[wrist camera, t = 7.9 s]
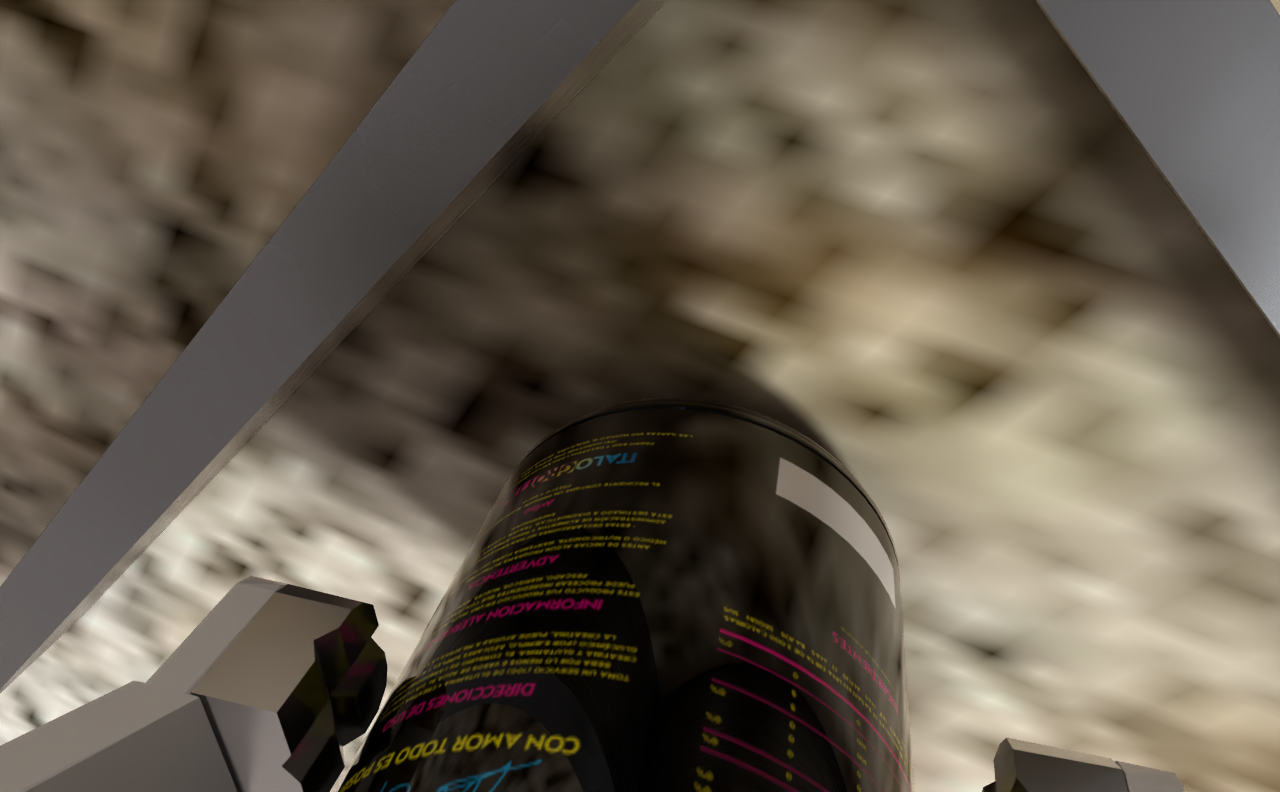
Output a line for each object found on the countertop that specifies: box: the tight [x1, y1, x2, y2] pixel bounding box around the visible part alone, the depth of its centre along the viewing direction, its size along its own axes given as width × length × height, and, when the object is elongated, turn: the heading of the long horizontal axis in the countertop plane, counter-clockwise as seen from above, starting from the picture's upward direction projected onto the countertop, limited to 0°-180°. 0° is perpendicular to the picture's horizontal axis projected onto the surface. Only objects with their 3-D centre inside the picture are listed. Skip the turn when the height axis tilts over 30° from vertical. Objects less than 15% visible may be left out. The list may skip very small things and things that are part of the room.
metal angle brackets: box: [0, 0, 1280, 693], centre depth 16 cm, size 20×25×3 cm
